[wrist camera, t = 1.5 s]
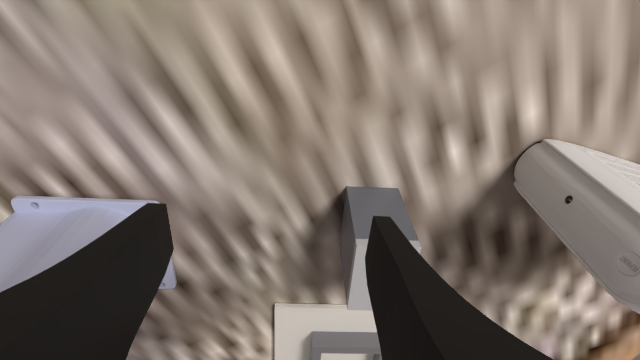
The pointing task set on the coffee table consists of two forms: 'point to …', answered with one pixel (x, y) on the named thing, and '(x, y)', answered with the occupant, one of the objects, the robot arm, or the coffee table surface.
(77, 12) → the coffee table surface
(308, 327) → the plate
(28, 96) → the coffee table surface
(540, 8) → the coffee table surface
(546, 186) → the photo printer
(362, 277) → the block
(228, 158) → the coffee table surface
